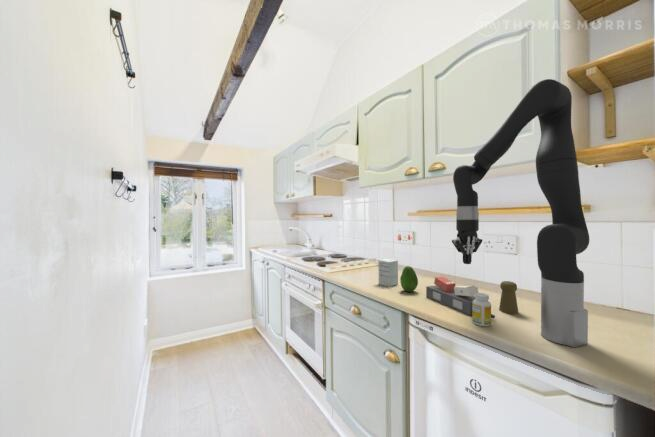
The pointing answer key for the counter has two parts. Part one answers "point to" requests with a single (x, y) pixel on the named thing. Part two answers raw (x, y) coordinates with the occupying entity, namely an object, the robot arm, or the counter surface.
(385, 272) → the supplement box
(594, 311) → the counter surface
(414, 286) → the avocado
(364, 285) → the counter surface
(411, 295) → the counter surface
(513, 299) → the cork
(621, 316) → the counter surface
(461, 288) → the rocker
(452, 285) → the rocker
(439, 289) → the power strip
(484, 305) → the supplement bottle
